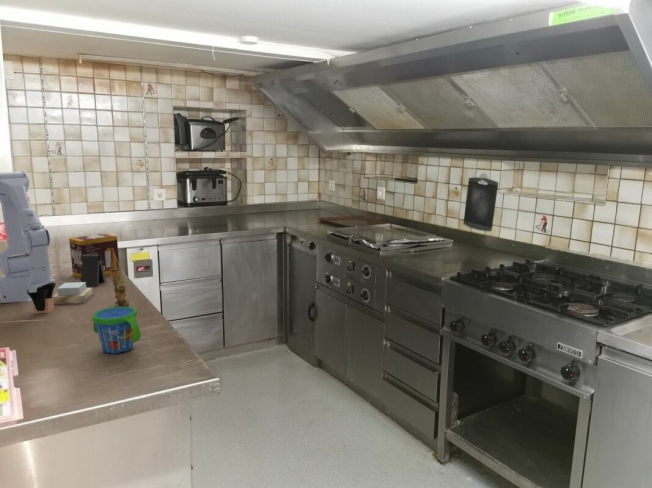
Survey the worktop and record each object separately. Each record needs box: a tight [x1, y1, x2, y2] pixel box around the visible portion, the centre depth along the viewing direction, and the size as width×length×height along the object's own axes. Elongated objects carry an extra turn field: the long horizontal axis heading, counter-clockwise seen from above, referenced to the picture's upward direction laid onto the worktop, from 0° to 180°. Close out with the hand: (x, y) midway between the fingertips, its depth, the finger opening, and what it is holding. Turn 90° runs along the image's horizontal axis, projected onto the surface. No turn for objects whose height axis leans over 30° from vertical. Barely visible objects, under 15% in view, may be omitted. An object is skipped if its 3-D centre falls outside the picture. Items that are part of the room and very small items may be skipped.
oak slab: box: [52, 287, 94, 305], centre depth 180 cm, size 10×10×2 cm
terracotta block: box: [32, 298, 55, 314], centre depth 167 cm, size 4×4×4 cm
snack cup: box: [91, 306, 142, 355], centre depth 137 cm, size 16×10×10 cm
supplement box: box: [68, 232, 120, 279], centre depth 216 cm, size 10×15×16 cm
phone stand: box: [80, 254, 107, 288], centre depth 198 cm, size 9×6×12 cm, turn 2°
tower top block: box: [57, 281, 87, 296], centre depth 179 cm, size 7×7×2 cm
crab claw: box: [109, 248, 130, 307], centre depth 172 cm, size 7×5×20 cm
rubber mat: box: [54, 293, 97, 306], centre depth 180 cm, size 12×12×1 cm
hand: (43, 308), depth 167 cm, fingers closed on terracotta block, 4 cm apart
